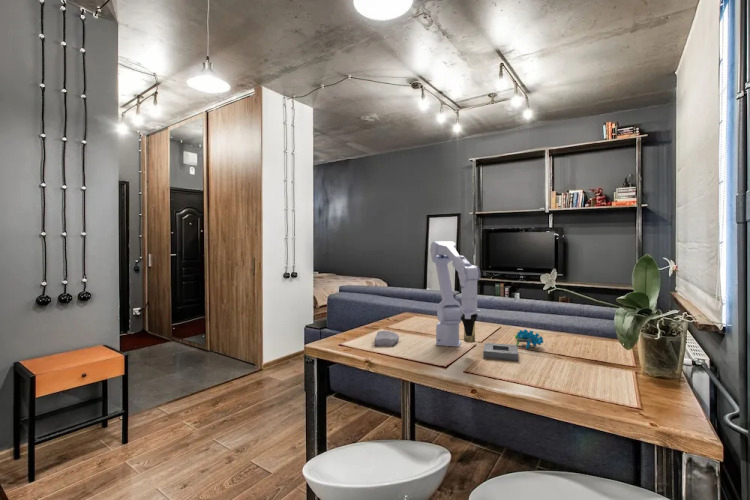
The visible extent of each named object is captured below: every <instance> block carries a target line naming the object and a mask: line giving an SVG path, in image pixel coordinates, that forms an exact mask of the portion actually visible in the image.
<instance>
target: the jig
mask: <svg viewBox="0 0 750 500" xmlns="http://www.w3.org/2000/svg"><path fill="white" fill-rule="evenodd" d="M482 357H483V359H493V360H503V361H512V362H519V349H518V346H517V345H516V344H509V343H495V342H484V346H483V356H482Z"/></svg>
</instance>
